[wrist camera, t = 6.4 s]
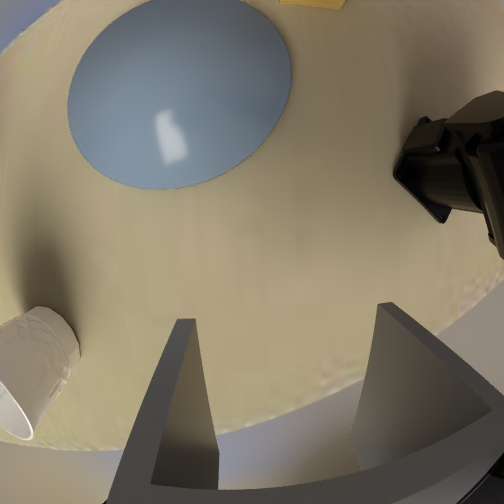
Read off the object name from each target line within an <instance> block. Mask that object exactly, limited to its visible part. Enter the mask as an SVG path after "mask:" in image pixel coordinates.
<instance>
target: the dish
mask: <svg viewBox="0 0 504 504" xmlns="http://www.w3.org/2000/svg"><path fill="white" fill-rule="evenodd" d="M290 84H291V64H290V59H289V54H288V50H287V48H286V45H285V43H284V41H283V39H282V37H281V35H280V34H279V32H278V31H277V29H276V28H275V27H274V25H273V24H272V23H271V22H270V21H269V20H268V19H267V18H266V17H265V16H264V15H262V14H261V13H260V12H259V11H257V10H256V9H254V8H253V7H251V6H249V5H248V4H246V3H243V2H241V1H239V0H151V1H148V2H146V3H143V4H141V5H139V6H137V7H135V8H133V9H131V10H130V11H128V12H126V13H125V14H123V15H122V16H120V17H119V18H117V19H116V20H115V21H113V22H112V23H111V24H110V25H109V26H107V27H106V28H105V29H104V30H103V31H102V32H101V33H100V34H99V35H98V36H97V37H96V39H95V40H94V41H93V42H92V43H91V45H90V46H89V47H88V49H87V50H86V52H85V53H84V55H83V57H82V58H81V60H80V62H79V64H78V66H77V68H76V71H75V73H74V76H73V78H72V82H71V86H70V90H69V96H68V120H69V127H70V130H71V134H72V137H73V139H74V141H75V144H76V146H77V148H78V149H79V151H80V152H81V154H82V155H83V157H84V158H85V159H86V160H87V161H88V162H89V164H90V165H91V166H92V167H93V168H95V169H96V170H97V171H99V172H100V173H101V174H103V175H104V176H106V177H108V178H110V179H112V180H114V181H116V182H118V183H121V184H124V185H127V186H131V187H136V188H142V189H157V190H166V189H179V188H184V187H189V186H194V185H197V184H200V183H203V182H206V181H209V180H211V179H214V178H216V177H218V176H220V175H222V174H224V173H226V172H228V171H229V170H231V169H233V168H234V167H236V166H238V165H239V164H240V163H241V162H243V161H244V160H245V159H247V158H248V157H249V156H250V155H251V154H252V153H253V152H254V151H256V150H257V149H258V148H259V147H260V146H261V145H262V143H263V142H264V141H265V139H266V138H267V137H268V136H269V134H270V133H271V132H272V130H273V128H274V126H275V125H276V123H277V121H278V120H279V118H280V116H281V114H282V112H283V109H284V107H285V105H286V102H287V99H288V95H289V91H290Z"/></svg>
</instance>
